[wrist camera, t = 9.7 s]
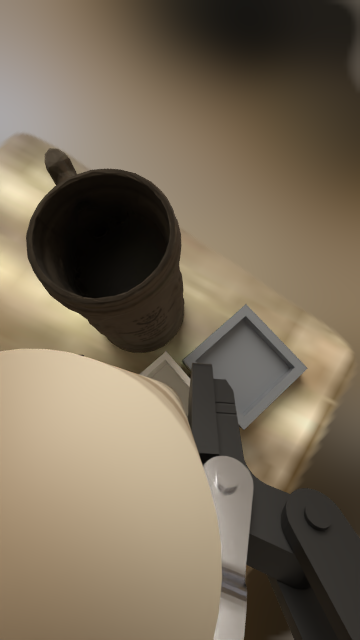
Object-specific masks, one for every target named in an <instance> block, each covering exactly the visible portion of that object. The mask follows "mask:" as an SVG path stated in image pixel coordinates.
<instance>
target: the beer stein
mask: <svg viewBox="0 0 360 640" xmlns="http://www.w3.org/2000/svg"><path fill="white" fill-rule="evenodd" d="M45 165H46V169H47V171H48V172H49V174H50V176H51V177H52V179H53V181H54V183H55V184H56V186H55V187H54V188H53V189H52V190H51V191H50V192H49V193H48V194H47V195H46V196H45V197H44V198H43V199H42V201H41V202H40V203H39V204H38V206H37V208H36V210H35V212H34V214H33V215H32V217H31V219H30V223H29V227H28V230H27V235H26V241H27V255H28V259H29V262H30V264H31V266H32V269H33V271H34V273H35V274H36V276H37V278H38V279H39V281H40V282H41V283H42V285H43V286H44V287H45V289H46V290H47V291H48V293H49V294H50V295H51V296H52V297H53V298H54V299H56V300H57V301H58V302H60V303H61V304H62V305H64V306H65V307H66V308H68V309H70V310H72V311H75V312H77V313H79V314H81V315H82V316H83V317H85V318H86V319H88V321H89V323H90V324H91V325H92V326H93V327H95V328H96V329H97V330H98V331H99V332H100V333H101V334H103V335H105V336H106V337H107V338H108V339H109V340H110V341H111V342H112V343H113V344H114V345H116V346H117V347H119V348H121V349H124V350H127V351H130V352H149V351H153V350H156V349H158V348H160V347H162V346H164V345H165V344H167V343H168V342H169V341H170V340H171V339H172V338H173V337H174V336H175V335H176V333H177V332H178V330H179V328H180V326H181V324H182V321H183V316H184V298H183V281H182V274H181V272H180V270H179V261H180V253H181V233H180V229H179V225H178V221H177V219H176V217H175V214H174V211H173V208H172V206H171V205H170V203H169V201H168V199H167V197H166V196H165V195H164V194H163V193H162V191H161V190H160V189H159V188H158V187H156V186H155V185H154V184H153V183H152V182H150V181H149V180H147V179H145V178H143V177H141V176H139V175H137V174H136V173H132V172H128V171H124V170H118V169H97V170H90V171H87V172H84V173H80V174H77V173H76V171H75V169H74V167H73V165H72V163H71V161H70V159H69V158H68V156H67V155H66V154H65V153H64V152H62V151H61V150H59V149H49V150H48V151H47V152H46V154H45Z"/></svg>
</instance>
